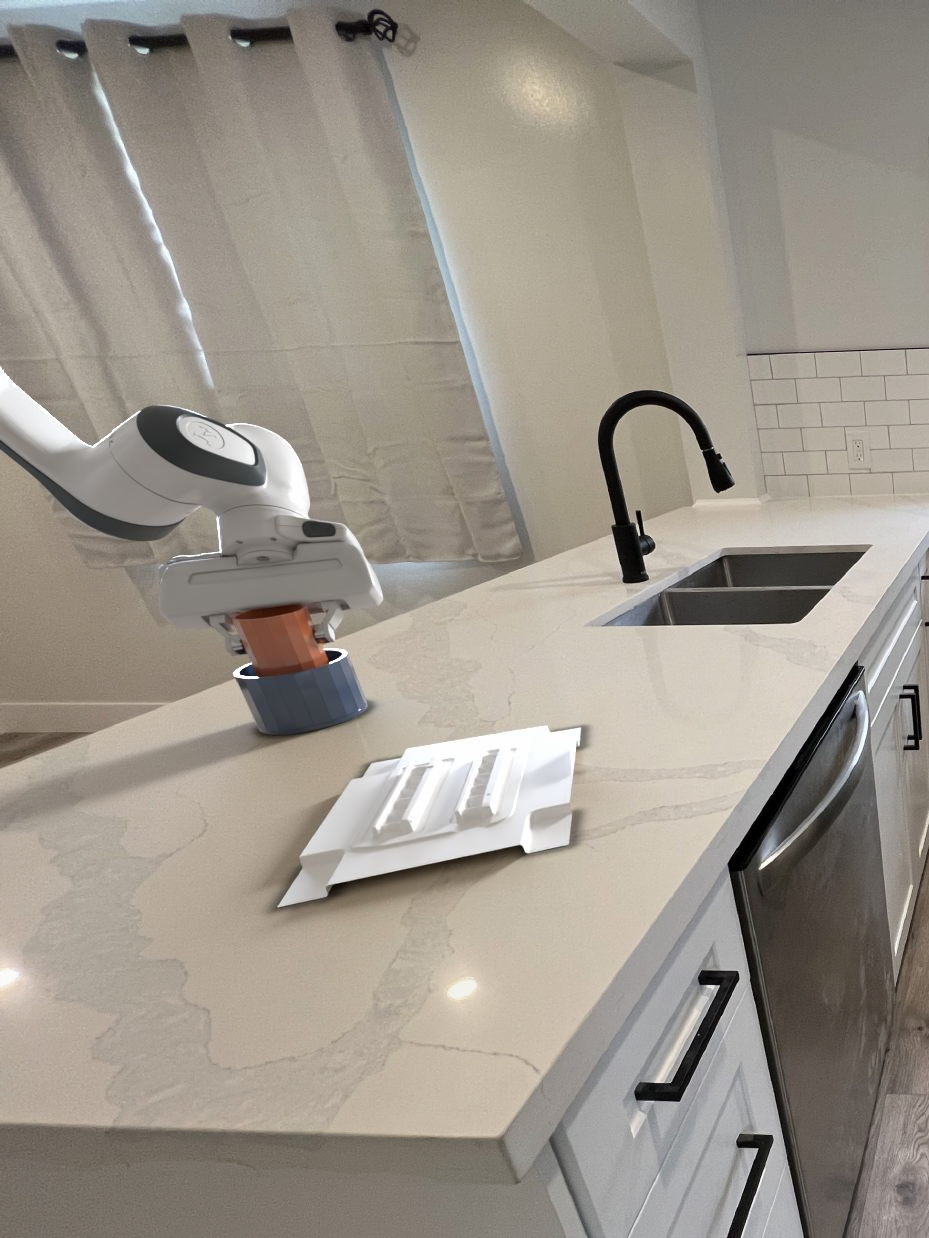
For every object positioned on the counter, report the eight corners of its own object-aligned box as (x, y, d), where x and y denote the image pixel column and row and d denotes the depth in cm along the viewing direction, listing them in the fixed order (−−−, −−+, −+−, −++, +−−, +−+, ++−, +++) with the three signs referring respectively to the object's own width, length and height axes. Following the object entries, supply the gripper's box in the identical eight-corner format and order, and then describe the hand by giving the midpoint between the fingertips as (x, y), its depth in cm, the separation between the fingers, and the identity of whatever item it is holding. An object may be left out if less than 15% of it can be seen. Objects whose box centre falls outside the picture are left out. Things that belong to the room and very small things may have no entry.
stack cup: (239, 727, 94) (213, 672, 91) (335, 696, 103) (314, 645, 100) (291, 740, 90) (265, 682, 87) (387, 706, 99) (366, 653, 96)
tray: (276, 908, 61) (256, 866, 59) (373, 772, 84) (360, 740, 83) (571, 844, 68) (559, 805, 66) (583, 735, 92) (575, 705, 90)
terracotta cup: (252, 691, 94) (218, 617, 90) (315, 673, 99) (285, 602, 95) (285, 698, 91) (252, 622, 87) (347, 679, 97) (319, 606, 93)
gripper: (140, 542, 89) (148, 648, 85) (360, 522, 98) (377, 618, 94) (173, 574, 95) (182, 675, 91) (379, 553, 103) (395, 644, 99)
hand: (283, 646), depth 92 cm, fingers closed on terracotta cup, 7 cm apart
